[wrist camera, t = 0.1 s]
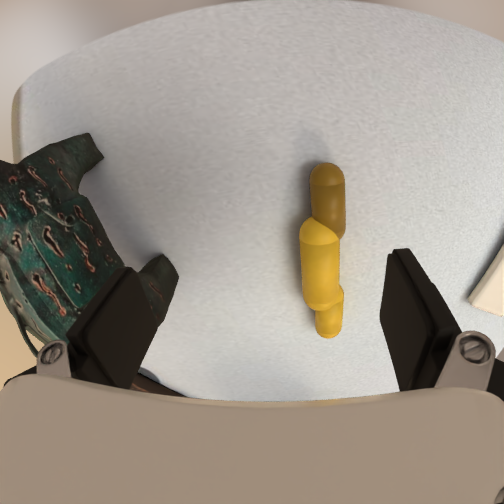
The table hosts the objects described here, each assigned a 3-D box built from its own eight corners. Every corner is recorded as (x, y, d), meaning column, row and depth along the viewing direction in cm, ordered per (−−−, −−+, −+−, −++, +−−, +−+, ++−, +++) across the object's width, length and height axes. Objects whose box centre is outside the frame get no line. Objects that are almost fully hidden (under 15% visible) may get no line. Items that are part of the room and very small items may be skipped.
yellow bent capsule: (290, 162, 23) (296, 171, 20) (337, 158, 22) (350, 167, 19) (302, 328, 31) (306, 350, 28) (337, 323, 31) (344, 344, 28)
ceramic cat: (57, 144, 23) (-104, 231, 6) (95, 106, 21) (-103, 175, 4) (154, 293, 31) (71, 451, 14) (200, 275, 29) (123, 463, 12)
